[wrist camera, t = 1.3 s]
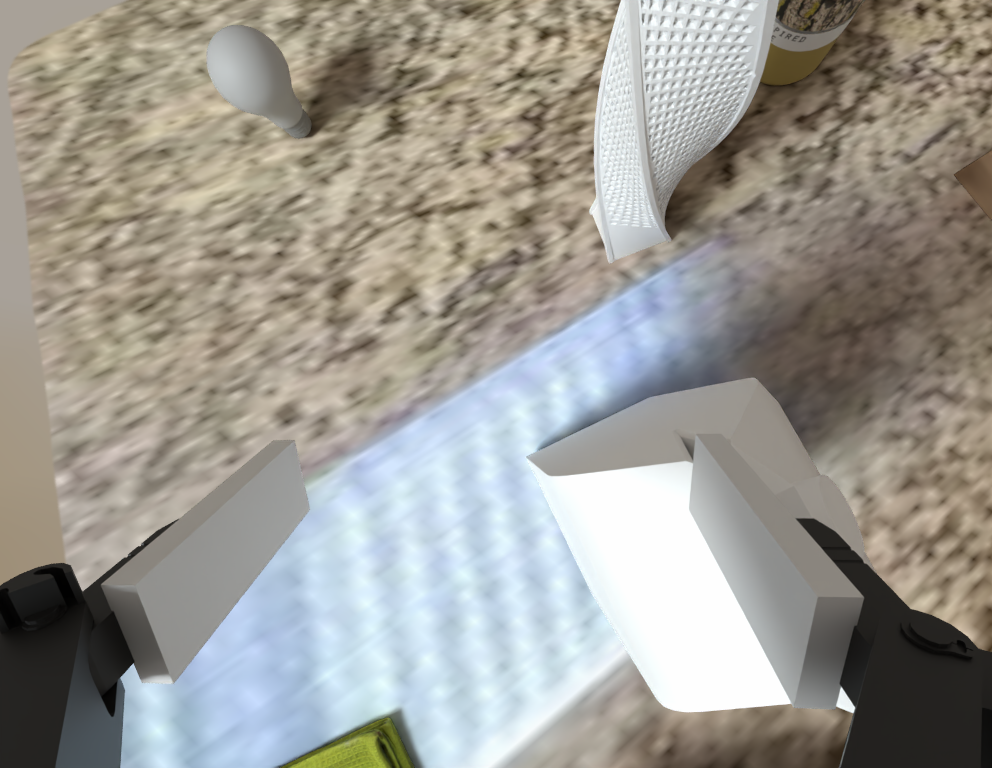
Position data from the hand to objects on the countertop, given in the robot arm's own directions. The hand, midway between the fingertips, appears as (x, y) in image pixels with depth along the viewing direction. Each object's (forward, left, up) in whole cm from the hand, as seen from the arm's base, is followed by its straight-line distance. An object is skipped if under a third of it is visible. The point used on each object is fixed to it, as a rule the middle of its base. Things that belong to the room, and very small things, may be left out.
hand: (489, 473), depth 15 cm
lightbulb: (+38, +4, -25) cm, 46 cm away
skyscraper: (+12, -17, -25) cm, 33 cm away
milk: (-7, -4, -25) cm, 26 cm away
